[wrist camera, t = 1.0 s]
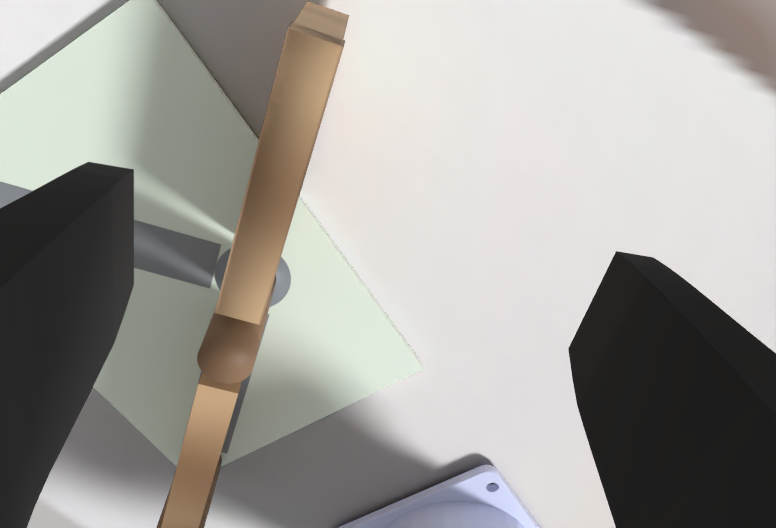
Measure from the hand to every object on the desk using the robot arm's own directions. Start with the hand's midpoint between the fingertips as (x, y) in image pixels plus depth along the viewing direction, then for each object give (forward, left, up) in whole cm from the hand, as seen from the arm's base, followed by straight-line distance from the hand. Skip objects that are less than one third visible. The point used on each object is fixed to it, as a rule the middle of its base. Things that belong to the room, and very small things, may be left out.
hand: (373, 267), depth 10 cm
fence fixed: (-6, +11, -12) cm, 17 cm away
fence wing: (0, +3, -11) cm, 11 cm away
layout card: (-2, +10, -12) cm, 15 cm away
